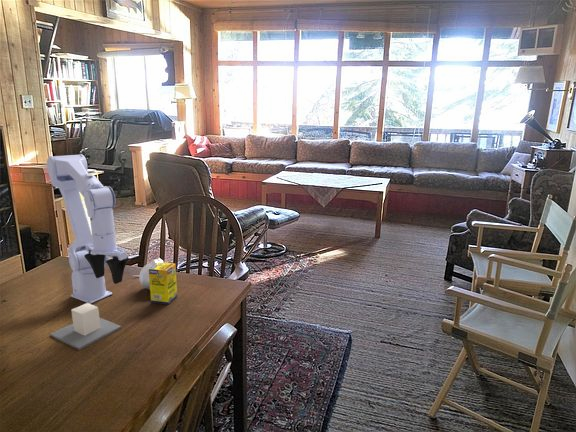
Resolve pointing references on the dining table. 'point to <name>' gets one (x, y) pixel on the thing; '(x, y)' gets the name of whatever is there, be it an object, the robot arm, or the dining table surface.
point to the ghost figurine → (147, 273)
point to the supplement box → (163, 282)
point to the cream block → (86, 319)
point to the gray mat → (82, 341)
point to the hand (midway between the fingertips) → (108, 279)
